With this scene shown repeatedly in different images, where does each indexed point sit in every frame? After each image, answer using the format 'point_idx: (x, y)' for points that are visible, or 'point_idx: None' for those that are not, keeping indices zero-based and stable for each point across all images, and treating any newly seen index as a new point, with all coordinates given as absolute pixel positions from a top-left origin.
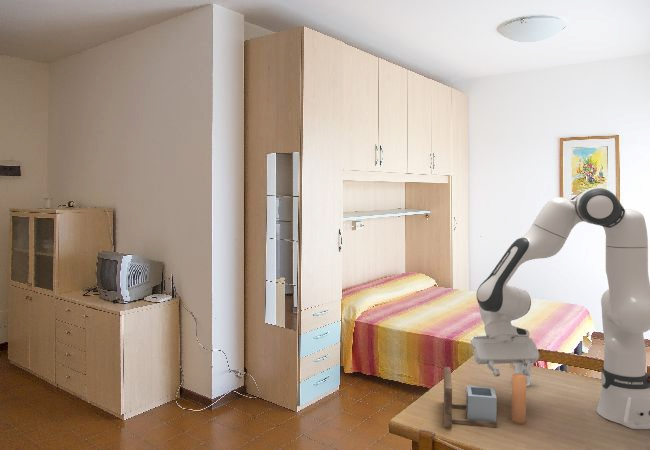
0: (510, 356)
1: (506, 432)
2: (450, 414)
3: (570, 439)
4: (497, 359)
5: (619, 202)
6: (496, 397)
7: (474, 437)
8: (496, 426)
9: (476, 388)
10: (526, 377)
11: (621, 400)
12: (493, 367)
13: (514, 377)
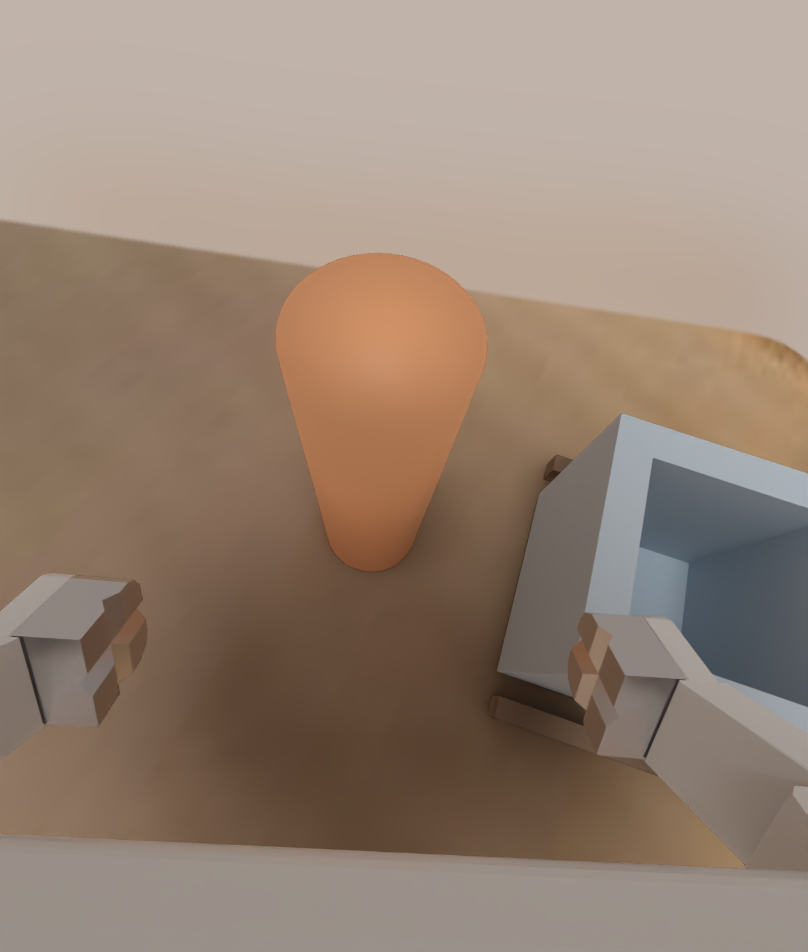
0: (266, 934)
1: (512, 404)
2: None
3: (208, 292)
4: (758, 871)
5: None
6: (620, 423)
7: (699, 383)
8: (549, 463)
9: (763, 695)
10: (299, 290)
11: None
12: (749, 709)
13: (477, 319)
